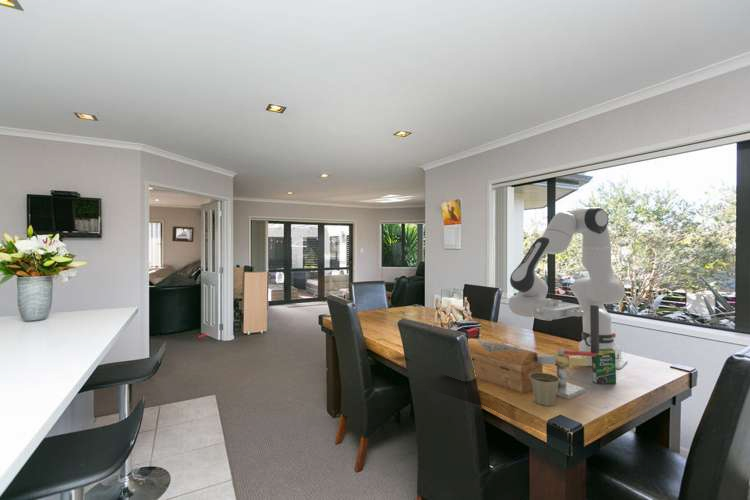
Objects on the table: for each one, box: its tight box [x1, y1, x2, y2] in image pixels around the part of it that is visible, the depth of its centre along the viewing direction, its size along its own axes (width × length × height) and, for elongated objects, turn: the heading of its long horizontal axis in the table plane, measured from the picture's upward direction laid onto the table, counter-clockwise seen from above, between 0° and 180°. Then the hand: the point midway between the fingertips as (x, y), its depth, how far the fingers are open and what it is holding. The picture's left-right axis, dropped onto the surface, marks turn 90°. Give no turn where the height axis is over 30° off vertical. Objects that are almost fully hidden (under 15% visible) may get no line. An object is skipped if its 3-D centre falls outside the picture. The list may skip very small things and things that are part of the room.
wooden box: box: [467, 338, 543, 395], centre depth 144 cm, size 30×16×14 cm, turn 37°
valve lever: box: [557, 305, 599, 357], centre depth 129 cm, size 14×3×18 cm, turn 73°
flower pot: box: [529, 372, 560, 407], centre depth 120 cm, size 9×9×9 cm
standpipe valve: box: [536, 352, 589, 400], centre depth 130 cm, size 14×14×13 cm
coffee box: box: [591, 348, 617, 385], centre depth 137 cm, size 8×3×13 cm, turn 91°
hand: (582, 314), depth 131 cm, fingers closed
